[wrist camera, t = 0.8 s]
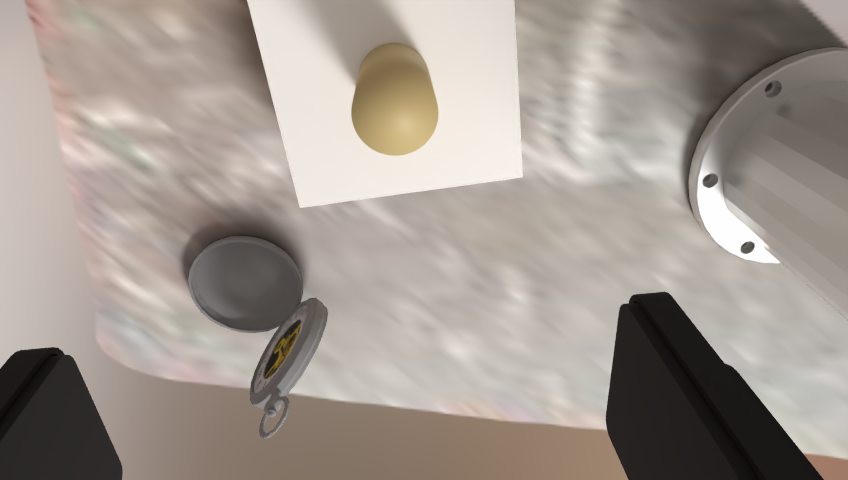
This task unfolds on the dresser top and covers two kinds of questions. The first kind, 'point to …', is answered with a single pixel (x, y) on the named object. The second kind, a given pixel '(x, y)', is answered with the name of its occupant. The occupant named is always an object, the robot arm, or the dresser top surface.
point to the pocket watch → (260, 312)
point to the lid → (392, 93)
